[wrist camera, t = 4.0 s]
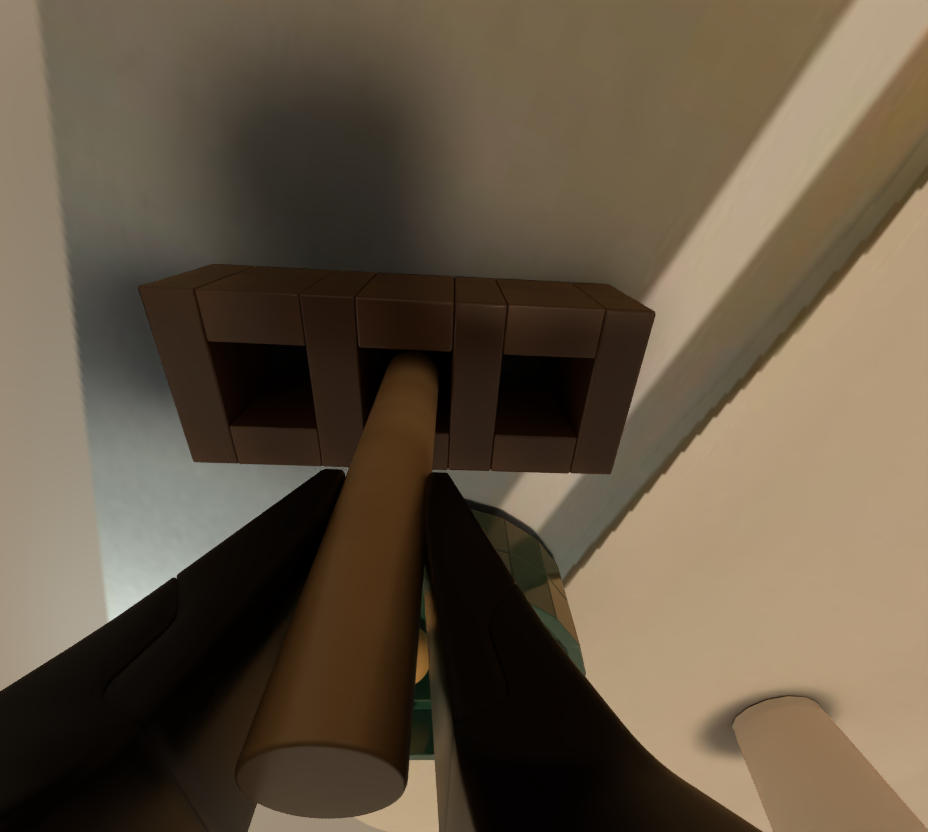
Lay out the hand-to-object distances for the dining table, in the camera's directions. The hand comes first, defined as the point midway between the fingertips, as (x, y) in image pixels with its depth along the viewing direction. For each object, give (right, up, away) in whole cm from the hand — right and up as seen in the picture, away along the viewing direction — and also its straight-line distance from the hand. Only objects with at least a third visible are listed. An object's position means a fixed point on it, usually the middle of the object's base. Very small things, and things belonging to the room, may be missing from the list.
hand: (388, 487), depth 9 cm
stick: (0, +3, +5) cm, 6 cm away
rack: (0, +4, +8) cm, 9 cm away
